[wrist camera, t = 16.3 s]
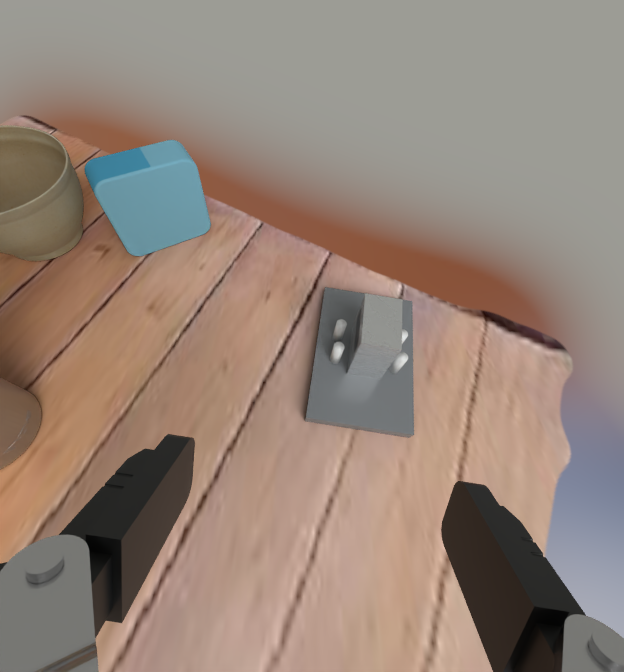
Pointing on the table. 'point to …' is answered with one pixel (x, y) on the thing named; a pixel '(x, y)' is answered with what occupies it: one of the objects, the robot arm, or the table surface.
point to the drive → (375, 336)
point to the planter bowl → (37, 195)
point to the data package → (150, 196)
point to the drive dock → (357, 391)
